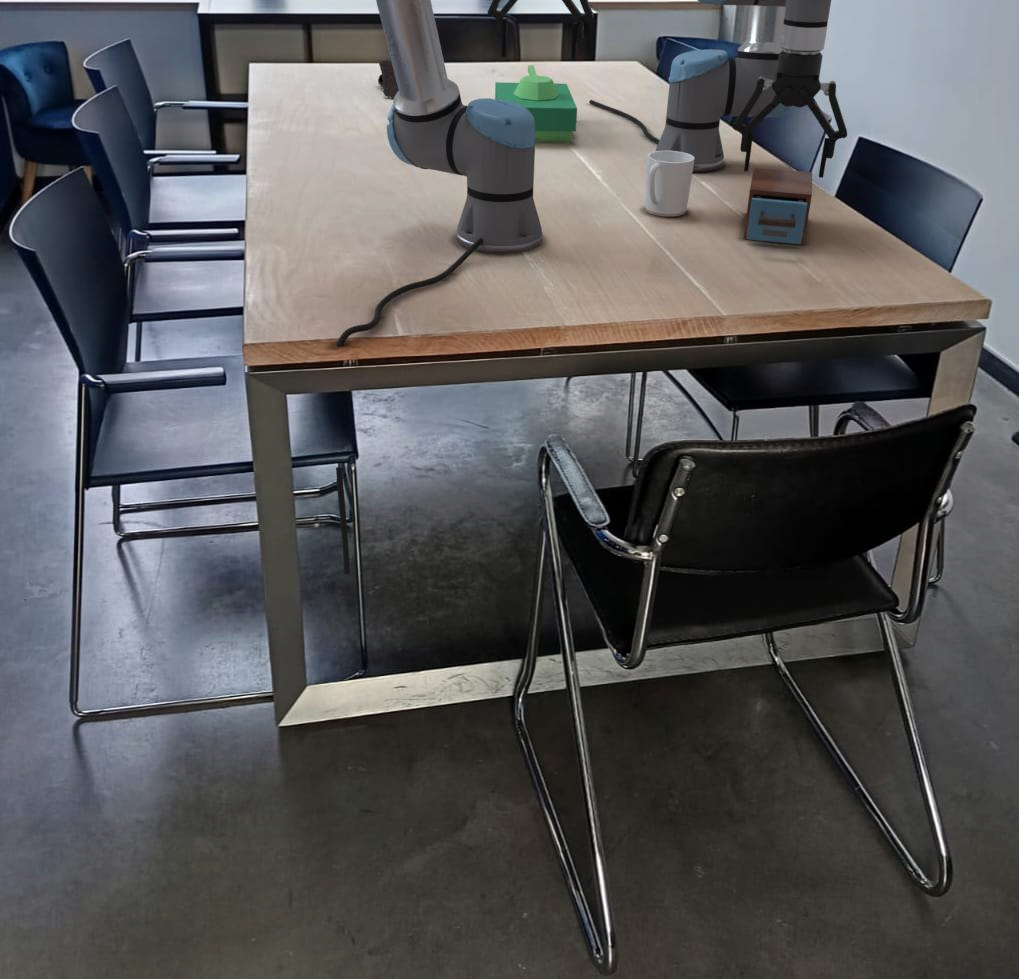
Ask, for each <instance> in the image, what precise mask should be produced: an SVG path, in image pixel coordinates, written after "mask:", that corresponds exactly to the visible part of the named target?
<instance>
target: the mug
mask: <svg viewBox="0 0 1019 979" xmlns="http://www.w3.org/2000/svg"><path fill="white" fill-rule="evenodd" d="M693 165H694V156H692V155H690V154H688V153H684V152H678V151H655V150H654V151H651V152H649V153H648V154H646V171H645V172H646V173H645V194H644V196H645V198H644V200H645V201H644V210H645V212H647V213H648V214H651V215H654V216H659V217H668V218H669V217H671V218H672V217H679V216H683V215H684V214H686V213H687V210H688V204H689V196H690V191H691V185H692V184H691V183H692V179H693V173H694V172H693Z"/></svg>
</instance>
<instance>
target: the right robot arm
mask: <svg viewBox="0 0 1019 979" xmlns="http://www.w3.org/2000/svg"><path fill="white" fill-rule="evenodd" d="M696 1H697V2H698V3H700V4H704V5H705V4H706V5H714V6H718V7H719V6H749V11H748V18H747V19H748V21H747V30H746V37H745V38H746V39H745V41H744V43H742V44H741V45H740V46H739V47H738V48H737V54H736V58H732V57H731V58H729V55H728V52H727V51H726V50H724V49H714V48H713V49H712V48H711V49H709V48H708V49H698V50H697V49H696V50H691V51H687V52H683V53H680V54H678V55H676V57H674V58H673V59H672V62H671V64H670V65H671V66H670V73H669V77H668V82H669V85H668V96H667V104H666V105H667V106H666V116H665V125H664V128H663V131H662V132H661V136H660V138H658V137H655V136H653V134H650V132H649V131H648V128H647V127H646V125H644V123H643V122H642V121H640V120H639V119H638V118H636V117H635V116H633V115H631V114H628V113H626V112H624V111H622V110H620V109H616V108H614V107H611V106H608V105H606V104H603V103H601V102H598V101H595V100H593V99H590V100H589V104H590V105H593V106H596V107H599V108H600V109H604V110H606V111H608V112H611V113H614V114H616V115H619V116H621V117H624V118H625V119H628V120H630V121H632V122H634V123H635V124H636V125H638V126H639V127H640V128H641V129H642V131H643V134H644V135H645V136H646V138H648V139H649V140H650V141H652V142H654V143H656V144H657V145H656V148H655V150H654V152H655V151H678V152H684V153H688V154H690V155H692V156H694V165H693V172H692V173H707V172H713V171H717V170H719V169H721V168H723V166H724V160H725V156H724V155H725V154H724V149H723V144H722V138H721V134H720V123H721V117H737V118H736V119H735V121H734V123H733V126H732V128H733V130H734V131H737V132H739V133H740V134H741V142H740V149H739V150H740V151H741V152H742V153H745V158H744V166H743V172H745V173H747V172H749V169H750V160H751V153H752V147H753V146H752V145H753V138H754V132H753V130H754V129H755V128H756V127H757V126H758V125H759V124H760V123H761V122H762V121H763V120H765V119H767V118H781V117H784V116H785V115H786V114H787V113H788V111H789V110H790V108H791V107H796V108H803V107H806V106H807V107H808V109H809V110H810V111H811V112H812V114H813V116H814V117H815V119H816V120H817V122H818V123H819V125H820V126H821V128H822V130H823V131H824V133H825V134H826V136H827V137H824V140H823V145H822V152H821V160H820V163H819V164H820V165H819V170H818V178H822V179H823V178H824V175H825V168H826V164H827V163H826V162H827V159H829V160H830V159H833V157H834V155H835V154H834V153H835V148H836V142H837V141H838V140H840V139H845V138H847V137H848V130H847V126H846V123H845V120H844V117H843V114H842V111H841V107H840V104H839V100H838V98H837V83H836V81H835V80H831V81H829V82H821V80H820V76H821V70H822V65H823V64H822V63H823V56H824V55H823V54H822V53H821V52H822V51H823V50H824V49H825V44H826V37H827V31H828V24H829V18H830V17H829V16H830V11H831V5H832V0H696ZM820 91H822V92H823V94H824V96H826V97H828V101H829V104H830V108H831V110H832V114H833V117H834V120H835V123H836V126H837V130H835V129H834V128H833V126H832V124H831V123H830V122H829V120H828V118H827V116H826V115H825V114H824V112H823V110H822V109H821V108H820V106H819V104H818V102H817V101H816V99H815V97H816V96H817V94H818V93H819V92H820ZM747 118H751V119H750V120H749V121H748V122H747V123H744V122H745V121H746V119H747ZM751 131H752V132H751Z"/></svg>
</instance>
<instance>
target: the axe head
mask: <svg viewBox="0 0 1019 979" xmlns="http://www.w3.org/2000/svg"><path fill="white" fill-rule="evenodd" d="M378 66H379V68H380V72H381V74H379V75H378V79H377V84H378V85H379V86H380V87H381V88H382V89H383V95H384V96H385V97H388V98H394V97H395V95H396V94H397V92H398V91H399V89H398V85H397V81H396V77H395V73H394V69H393V65H392V61H391V60H388V59H387V60H380V61H379V62H378Z"/></svg>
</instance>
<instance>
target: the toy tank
mask: <svg viewBox="0 0 1019 979" xmlns="http://www.w3.org/2000/svg"><path fill="white" fill-rule="evenodd" d="M527 72H528V75H525V76H523V77H521V79H520V80H519V82H503V81H502V82H495V84H494V85H495V86H494V91H495V92H494V100H498V99H500V100H506V101H510V102H513V103H516V104H519V105H521V106H523V107H525V108H527V109H528V110H529V111H530V112H531V114H532V115H533V117H534V120H535V135H536V143H540V144H541V143H542V144H543V143H546V144H547V143H548V144H549V143H554V144H555V143H559V144H560V143H562V144H565V143H566V144H571V143H572V141H573V132H577V121H578V120H577V117H578V106H577V105H576V102H575V100H574V98H573V95H572V93H571V91H570V89H569V86H568V84H567V83H555V82H554V80H553V79H552V78H550V77H549V76H545V75H538V74H537V71H536V69H535V66H534V65H532V64H531V65H530V64H528V65H527Z"/></svg>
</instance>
